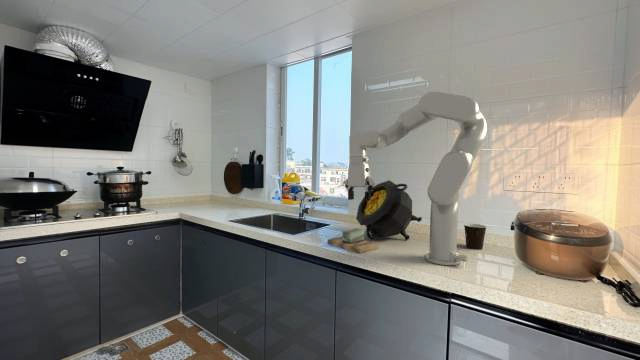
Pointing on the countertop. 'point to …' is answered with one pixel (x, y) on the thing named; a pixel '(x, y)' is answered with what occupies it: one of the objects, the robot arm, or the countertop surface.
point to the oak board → (354, 245)
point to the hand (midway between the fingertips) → (359, 200)
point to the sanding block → (352, 236)
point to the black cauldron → (386, 211)
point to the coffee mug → (474, 236)
